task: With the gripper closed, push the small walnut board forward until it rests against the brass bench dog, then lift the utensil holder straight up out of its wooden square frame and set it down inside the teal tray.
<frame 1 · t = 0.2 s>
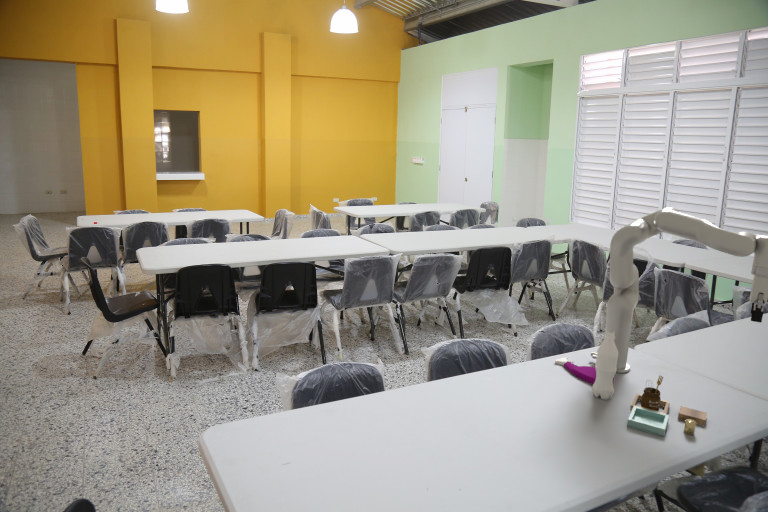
hand: (755, 317, 204), 31 cm above the table, tool pointing down, fingers open, 9 cm apart
tray: (647, 424, 190), on the table
board: (691, 419, 195), on the table
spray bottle: (581, 374, 229), on the table
utensil holder: (649, 409, 201), resting in wooden square frame
wooden square frame: (649, 408, 201), on the table
water bottle: (602, 396, 209), on the table
bench dog: (688, 432, 186), on the table
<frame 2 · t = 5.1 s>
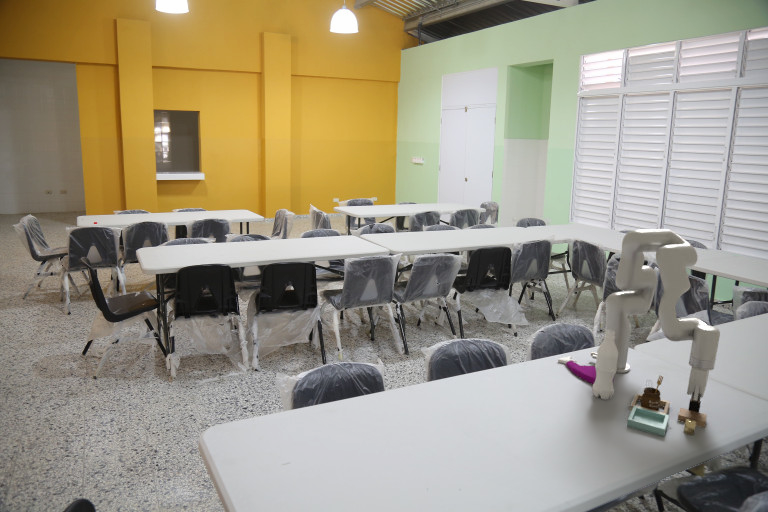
hand: (693, 411, 197), 1 cm above the table, tool pointing down, fingers closed
board: (691, 421, 194), on the table
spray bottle: (582, 373, 229), on the table
everything else where it was.
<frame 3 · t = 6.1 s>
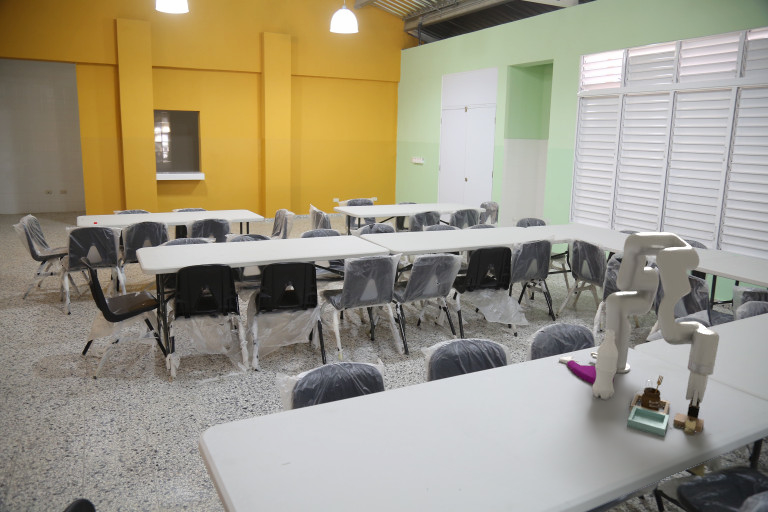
hand: (692, 416, 193), 1 cm above the table, tool pointing down, fingers closed
board: (687, 426, 191), on the table
everything else where it was.
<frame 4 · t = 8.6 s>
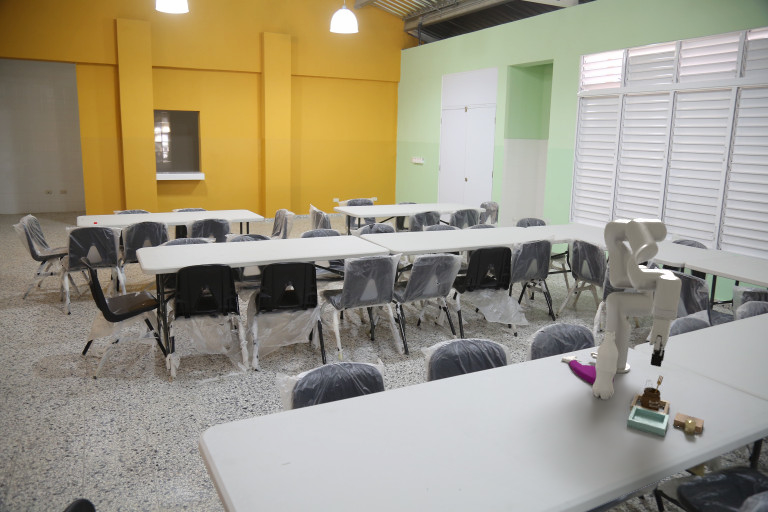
hand: (656, 362, 197), 17 cm above the table, tool pointing down, fingers open, 4 cm apart
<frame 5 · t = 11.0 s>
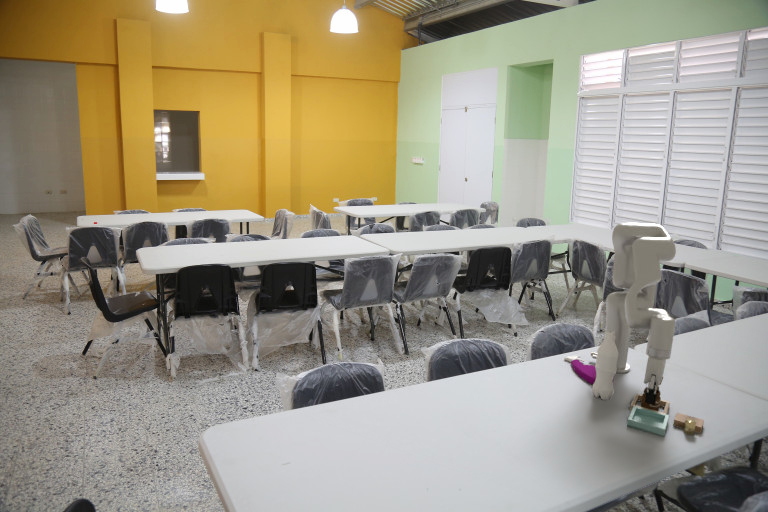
hand: (651, 399, 200), 4 cm above the table, tool pointing down, fingers closed on utensil holder, 5 cm apart
utensil holder: (649, 409, 201), resting in wooden square frame, touching gripper
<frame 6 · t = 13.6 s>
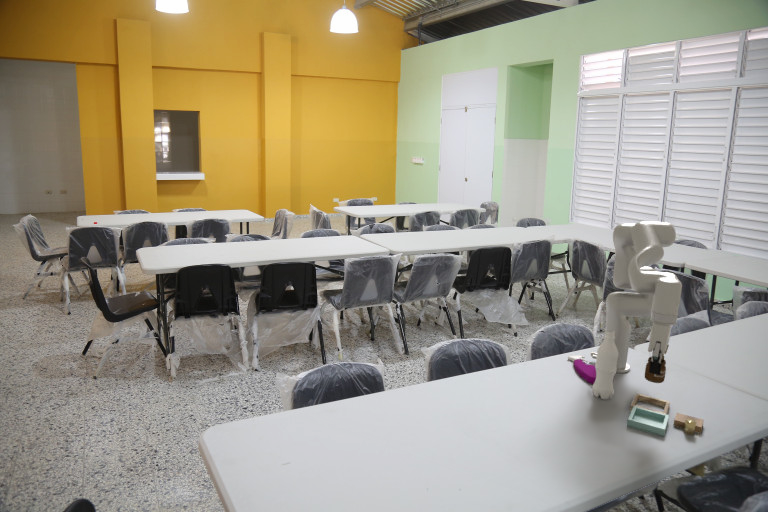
hand: (655, 369, 186), 19 cm above the table, tool pointing down, fingers closed on utensil holder, 5 cm apart
utensil holder: (654, 380, 187), point 16 cm above the table, touching gripper
when the fingers open (5 cm above the table, at t = 16.6 s): utensil holder drops 1 cm, resting on tray.
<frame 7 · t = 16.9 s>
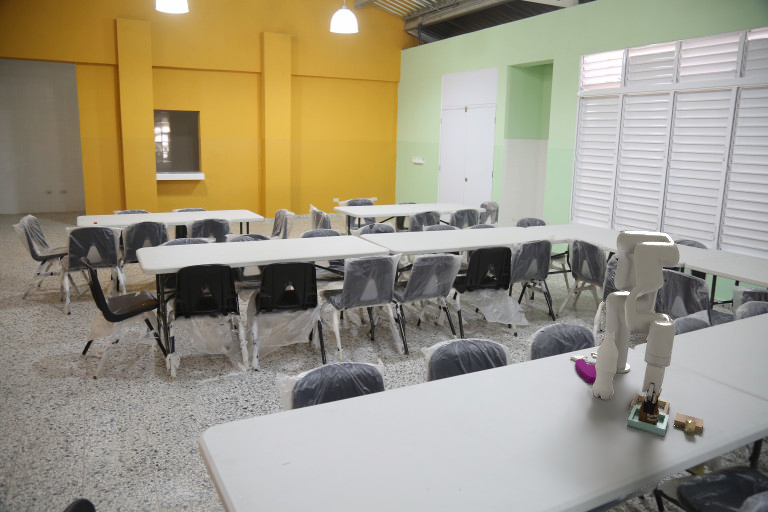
hand: (650, 407, 189), 6 cm above the table, tool pointing down, fingers open, 8 cm apart
utensil holder: (647, 422, 190), resting on tray
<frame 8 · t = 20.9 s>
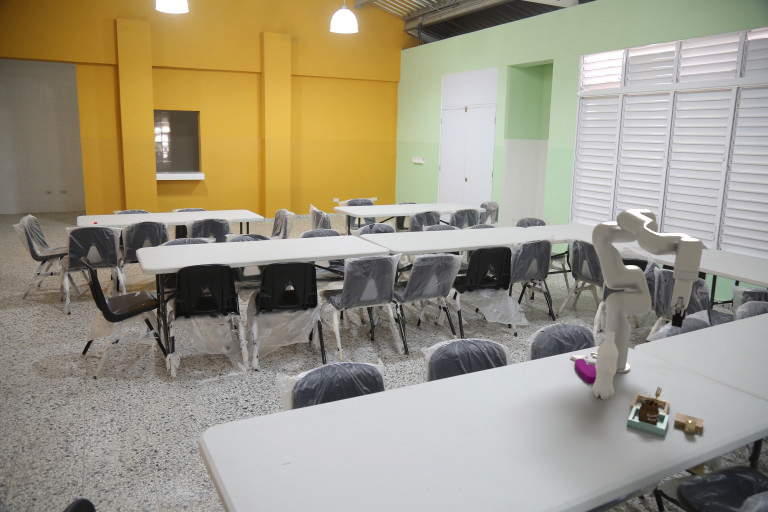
hand: (678, 322, 198), 30 cm above the table, tool pointing down, fingers open, 9 cm apart
at the end: utensil holder inside the target area on the tray (0.2 cm from its centre), point 0.4 cm above the tray's base; utensil holder tilted 0°; board 1.2 cm from the target spot, on the table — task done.
